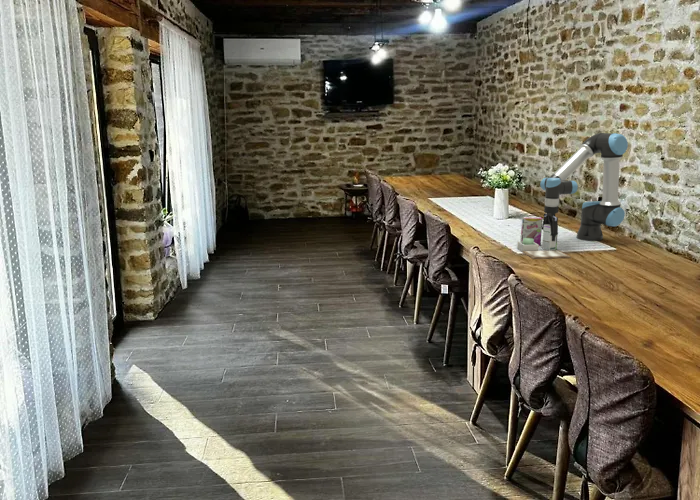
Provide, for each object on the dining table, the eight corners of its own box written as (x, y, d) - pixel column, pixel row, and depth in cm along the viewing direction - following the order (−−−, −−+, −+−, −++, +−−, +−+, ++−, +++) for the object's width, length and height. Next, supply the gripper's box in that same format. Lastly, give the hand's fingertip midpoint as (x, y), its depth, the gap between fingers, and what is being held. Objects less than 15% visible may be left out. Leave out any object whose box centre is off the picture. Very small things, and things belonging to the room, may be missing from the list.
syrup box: (549, 250, 345) (551, 225, 342) (541, 248, 350) (543, 224, 347) (556, 249, 348) (558, 224, 344) (549, 247, 353) (550, 223, 349)
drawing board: (558, 251, 343) (558, 249, 343) (570, 258, 329) (570, 256, 328) (522, 252, 341) (522, 250, 341) (533, 259, 327) (533, 257, 327)
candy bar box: (521, 245, 359) (523, 218, 355) (520, 243, 364) (521, 216, 360) (540, 245, 358) (542, 218, 354) (539, 243, 363) (541, 216, 359)
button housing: (532, 248, 352) (532, 241, 351) (538, 251, 343) (538, 244, 342) (517, 248, 351) (517, 241, 350) (522, 252, 342) (523, 245, 341)
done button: (530, 244, 350) (531, 237, 349) (535, 246, 344) (535, 239, 343) (520, 244, 349) (521, 237, 348) (524, 247, 343) (525, 240, 342)
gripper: (537, 202, 352) (534, 240, 357) (553, 208, 331) (550, 249, 336) (550, 202, 353) (547, 240, 358) (566, 208, 332) (563, 248, 337)
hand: (548, 244), depth 347 cm, fingers open, 9 cm apart
